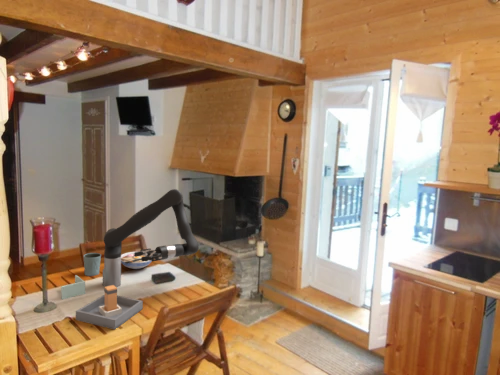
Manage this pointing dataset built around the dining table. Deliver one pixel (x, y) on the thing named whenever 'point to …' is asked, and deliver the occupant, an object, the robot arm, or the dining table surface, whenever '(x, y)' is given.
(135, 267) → the ramen bowl
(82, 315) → the walled box
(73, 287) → the l-shaped corner panel
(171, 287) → the dining table surface
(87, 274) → the teal tapered cup
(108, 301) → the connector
